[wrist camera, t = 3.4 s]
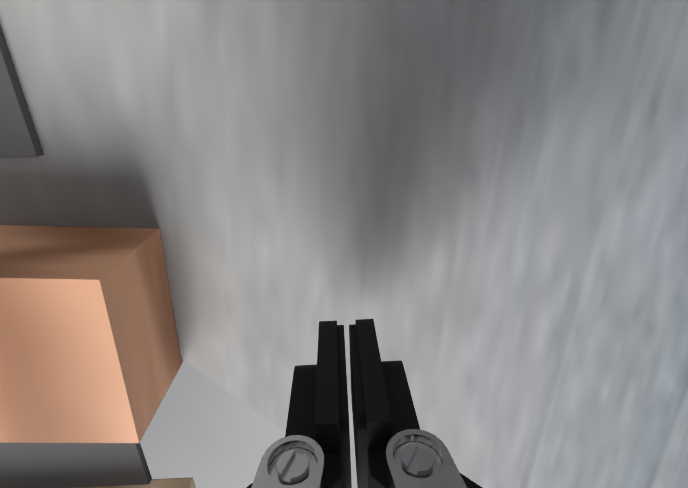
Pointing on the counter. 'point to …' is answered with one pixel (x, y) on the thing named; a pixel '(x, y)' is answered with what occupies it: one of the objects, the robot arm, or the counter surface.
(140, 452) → the plate
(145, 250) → the block
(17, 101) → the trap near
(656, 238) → the counter surface
